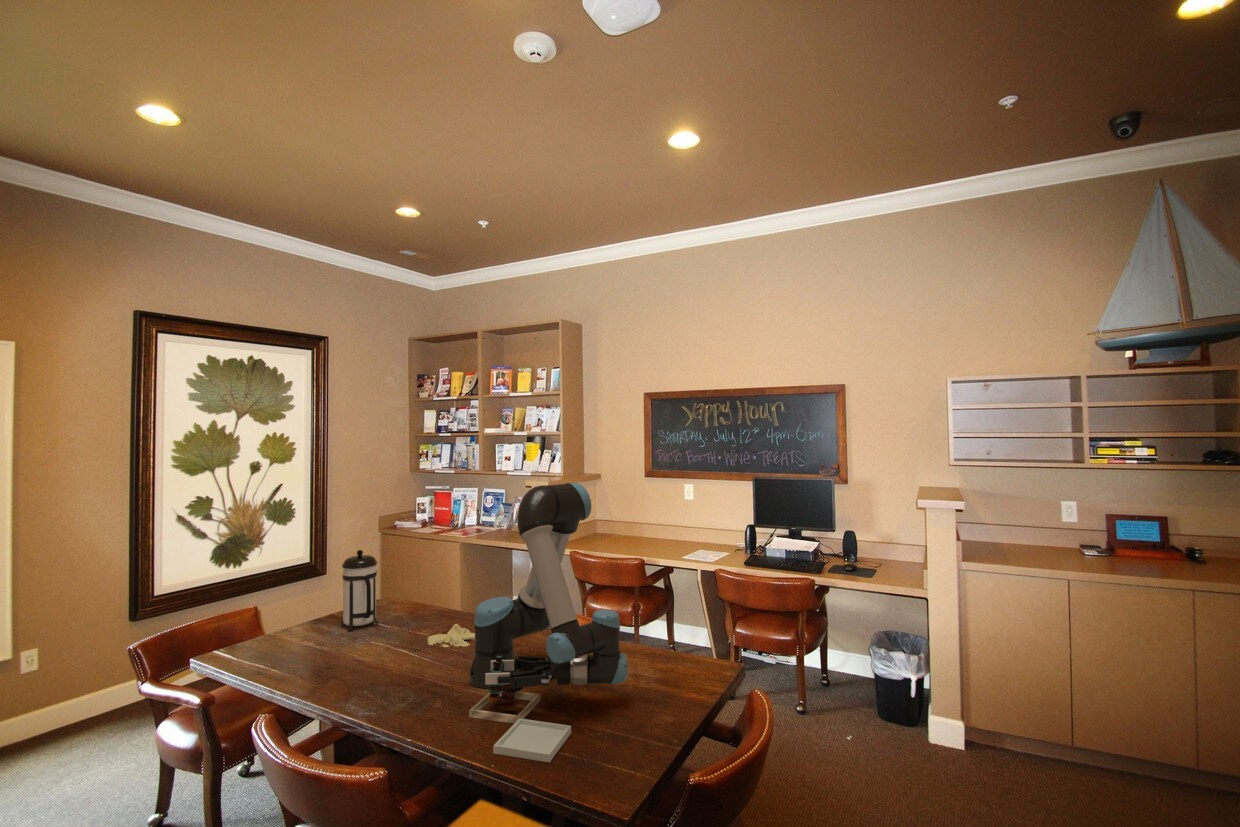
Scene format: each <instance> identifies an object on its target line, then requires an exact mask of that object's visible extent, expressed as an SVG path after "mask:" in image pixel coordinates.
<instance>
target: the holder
mask: <svg viewBox="0 0 1240 827" xmlns="http://www.w3.org/2000/svg"><path fill="white" fill-rule="evenodd" d="M502 692H503V691H502ZM502 692H500V693H498V694H499V695H500V697H501V695H502ZM514 694H515V698H514V700H515V699H516V700H523V701H529V702H528V704H527V705H526V706H525V707H524V708H522V710H521V711H520V712H519V713H518V714H510V713H503V712H498V711H497V712H496V711H488V710H482V709H483V708H484V707H485V706H486V705H488V704H489V703H490V701H488V698H489V695H490V692H488V693H487V694H485V696H483V697H482V698H481V699H480V700H479V701H478V702H477V703H476V704H474V705H473V706H472V707H471V708H470V709H469V710H468V718H474V719H479V720H486V721H492V722H502V723H507V724H512V725H514V724H515V722H516V721H517V720H518V719H519V718H520V719H526V717H527V716H528V715H529V714H530V713H531V711H532V710H534V708H535V707H536V706H537V705H538V704H539V703H541V695H542V694H541V693H535V692H527V691H517V692H516V693H514Z"/></svg>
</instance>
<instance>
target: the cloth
mask: <svg viewBox="0 0 1240 827" xmlns="http://www.w3.org/2000/svg"><path fill="white" fill-rule="evenodd" d="M426 640H427V645H428V644H429V645H432V646H434V645H433V644H435V645H437V644H436V643H439V644H441V645H440V647H442V646H443V647H442V648H445V647H450V646H451V645H454V646H453V647H459V646H462V647H469V646H471V644H470V643H469V642H467V641H475V632H471V631H470V630H469V629H468V628H466V627H461V626H460V625H459V624H458V623H455V624H453V625H452V628H450V629H449V631H448V632H447V633H446V634H445V633H444V634H443V633H438V634H433V635H430V636H428V637H427V639H426ZM464 640H466V641H464ZM442 642H445V643H448V642H449V643H450V644H451V645H449V643H448V644H445V643H442ZM429 645H428V646H429ZM468 645H469V646H468Z"/></svg>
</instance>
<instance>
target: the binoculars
mask: <svg viewBox="0 0 1240 827" xmlns="http://www.w3.org/2000/svg"><path fill="white" fill-rule="evenodd" d="M502 659H503V654H502V653H498V654H496V662H493V667H492V672H489V673H504V661H502ZM501 686H502V687H501ZM489 687H490V688H488V689H489V690H488V691H489V693H490V695H489V698H488V701H490V702H491V703H492V702H495V701H498V700H499V699H500V700H503V701H507V702H512V701H515V699H514V698H515V694H514V693H516V692H517V691H519V692H521V690H522V689H523V688H524V687H521V688H511V685H510V684H506V685H501V684H490V685H489ZM502 691H503V692H502ZM500 692H502V695H501V697H500V695H499V694H498V693H500ZM490 702H489V703H490Z"/></svg>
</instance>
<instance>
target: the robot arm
mask: <svg viewBox="0 0 1240 827" xmlns="http://www.w3.org/2000/svg"><path fill="white" fill-rule="evenodd" d="M591 512H592V499H591V497H590V494H589V492H588V489H586V487H585V486H584V485H582V484H581V483H578V482H574V483H573V482H571V483H570V482H566V483H562V484H561V483H559V484H550V485H549V484H547V485H545V484H544V485H537V486H534V487H532V488H530V489H529V490H528V491H527V492H526V493H525V494H524V496H523V497H522V499H521V501H520V502H519V505H518V509H517V515H516V519H517V520H516V522H517V525H516V526H517V530H518V534H519V538H520V539H521V540H523V541H524V542H525V545H526V547H527V548H526V549H527V551H528V552H527V553H528V555H529V558H530V563H531V568H530V572H529V575H528V579H527V582H526V584H525V585H523V586H522V587H521V588H520V589H519V592H518V595H517V598H516V599H512V598H511V597H508V596H499V597H497V596H496V597H491V598H489V599H488V598H487V599H486V600H484V601H481V602H480V603H479V604H478V605H477V606H476V608H475V610H474V619H473V622H474V623H473V624H474V633H475V640H474V657H473V659H472V662H471V666H470V670H469V673H468V675H469V678H468V680H469V683H470V684H471V686H473V687H477V688H482V689H489V688H490V687H489V685H490V684H501V685H506V684H510V685H511V688H521V687H523V688H530V687H541V686H542V687H543V686H544V687H547V686H550V681H554V680H556V684H557V685H558V686H569V685H571V683H572V685H579V686H584V685H599V684H601V685H602V684H603V685H604V684H606V685H608V684H609V685H613V684H621V683H622V684H623V683H625V682H626V681H627V679H628V658H627V655H626V653H623V652H622V653H621V651H620V650H621V649H620V636H621V634H620V633H621V632H620V630H621V626H620V625H621V624H620V615H619V613H618V611H615V610H612V609H605V608H604V609H598V610H595V612H593V614H592V617H591V618H592V619H591V620H592V621H591V622H588V623H587V622H586V623H584V624H581V625H580V624H579V620H578V617H577V613H576V611H575V607H574V605H573V604H574V603H573V601H572V598H571V594H570V591H569V587H568V585H567V581H566V577H565V574H564V571H563V569H562V567H563V566H562V565H561V564H562V561H563V558H564V555H565V552H566V550H567V549H566V548H567V546H568V543H569V539H570V536H571V535H573V534H575V533H576V531H578V527H579V524H580V522H581V521H585V520H586V519H588V518H589V517H590V515H591V514H592V513H591ZM547 629H550V631H551V632H550V633H551V634H550V635H549V636H548V637H547V638H546V641H545V645H546V647H545V649H546V654H547V656H533V655H532V656H531V655H518V656H517V658H516V655H515V652H514V640H515V639H517V638H523V637H527V636H529V635H533V634H537V633H540V632H543V631H545V630H547ZM498 653H502V654H503V659H502V661H504V673H489V672H492V667H493V662H496V654H498ZM520 670H521V672H520ZM501 687H502V688H503V686H501Z"/></svg>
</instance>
